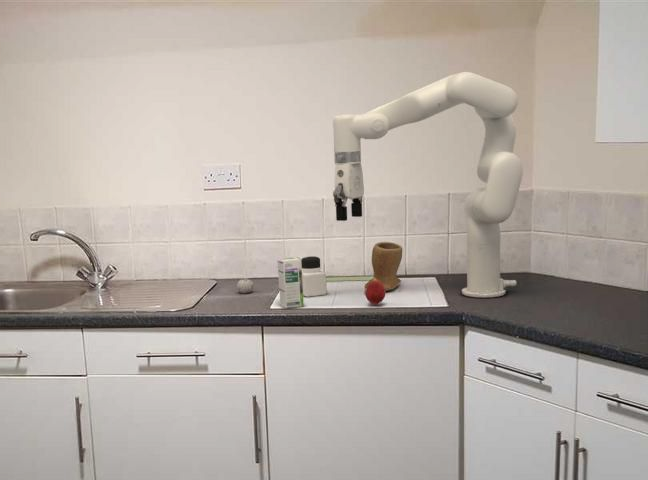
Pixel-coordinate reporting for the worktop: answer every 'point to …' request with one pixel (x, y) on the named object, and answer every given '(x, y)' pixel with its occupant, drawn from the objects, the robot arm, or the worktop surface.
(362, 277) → the edge strip
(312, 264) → the medicine bottle
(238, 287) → the garlic
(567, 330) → the worktop surface
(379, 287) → the pomegranate
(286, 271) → the syrup box
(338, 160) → the robot arm
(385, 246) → the stone cup
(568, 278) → the worktop surface
